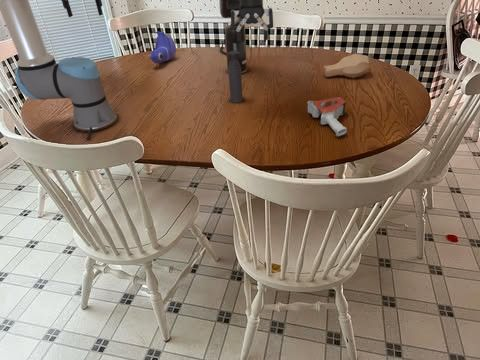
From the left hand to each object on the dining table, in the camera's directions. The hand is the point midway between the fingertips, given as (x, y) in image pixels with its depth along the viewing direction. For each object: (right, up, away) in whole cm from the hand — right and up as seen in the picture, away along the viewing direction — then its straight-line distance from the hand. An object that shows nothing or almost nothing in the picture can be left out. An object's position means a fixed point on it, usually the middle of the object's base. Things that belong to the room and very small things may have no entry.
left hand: (85, 15), depth 157 cm
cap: (+66, -26, -25) cm, 75 cm away
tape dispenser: (+99, -52, -33) cm, 117 cm away
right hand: (+73, -25, -34) cm, 84 cm away
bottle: (+67, -41, -14) cm, 79 cm away
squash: (+116, -26, +1) cm, 118 cm away
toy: (+28, -11, +30) cm, 42 cm away
